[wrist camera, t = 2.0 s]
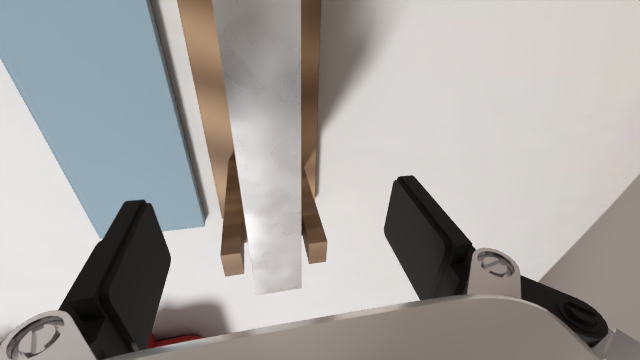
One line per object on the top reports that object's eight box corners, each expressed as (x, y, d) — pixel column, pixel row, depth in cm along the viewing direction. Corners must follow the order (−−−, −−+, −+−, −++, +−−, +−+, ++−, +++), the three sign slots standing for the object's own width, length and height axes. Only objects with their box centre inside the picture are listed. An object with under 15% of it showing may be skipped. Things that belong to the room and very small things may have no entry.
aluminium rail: (198, -151, 10) (183, -192, 8) (287, -141, 11) (300, -175, 8) (254, 259, 23) (256, 295, 20) (295, 253, 24) (301, 287, 21)
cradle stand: (144, -176, 16) (-29, -440, 6) (321, -152, 18) (423, -321, 8) (222, 211, 32) (212, 322, 22) (312, 201, 34) (342, 299, 24)
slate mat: (-151, -247, 13) (-176, -261, 12) (96, -210, 15) (88, -220, 14) (103, 231, 30) (100, 238, 29) (205, 220, 32) (204, 226, 31)
